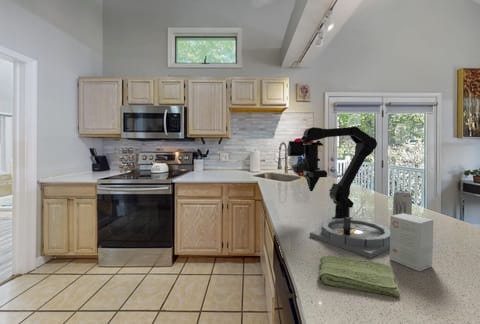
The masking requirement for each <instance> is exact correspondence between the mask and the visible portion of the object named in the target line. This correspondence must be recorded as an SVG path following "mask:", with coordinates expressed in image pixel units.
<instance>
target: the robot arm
mask: <svg viewBox="0 0 480 324" xmlns="http://www.w3.org/2000/svg"><path fill="white" fill-rule="evenodd" d="M346 136H348V137H350V138H351V140H352V142H353V143H355V147H354V154H353V157H352V158H351V160H350V162H349V164H348V166H347V168H346V170H345V171H344V173H343V174H342V177H341V179H340V181H338V183H335V182H333V183H332V185H331V188H330V189H329V191H328V192H329V193H328V194H329V198H330V199H331V200H332V202H333V204H334V205H335V208H334V209H335V210H334V216H332V217H331V219H341V218H344V217H349V218H351V219H354V218H353V217H351V215H350V214H351V211H350V210H351V209H352V208H353V206H354V202H353V201H352V200H351V199H350V198H349V197H350V194H351V186H352V184H353V183H354V180H355V178H356V176H357V174H358V172H359V171H360V169H361V168H362V165H363V164H364V162H365V159H366V158H367V157H369V156H370V155H371V154H373V152H374V150H375V149H376V148H377V146H378V141H377V140H376V139H375V137H373V136H371V135H369V134H368V133H366V132H364V131H363V130H361V129H360V127H358V126H356V125H355V126H354V125H353V126H349V127H337V128H322V127H315V126H314V127H308V128H306V129H305V130H304V131H303V136H302V137H301V138H300V140H298V141H293V140H289V141H288V144H287V148H286V150H287V151H286V152H287V156H288V157H302V156H303V155H304V158H302V161H301V162H298V163H296V164H292V165H291V168H292V171H293V173H294V174H302V175H301V176H302V177H304V179H305V181H306V183H307V186H308V189H309V191H310V192H313V191H314V189H315V187H316V185H317V183H318V182H319V180H320V178H327V177H328V171H327V170H325V169H321V168H320V167H319V162H320V161H321V159H320V157H319V147H320V146H321V147H323V146H324V143H322V142H321V141H320V140H321V139H325V138H334V137H346Z"/></svg>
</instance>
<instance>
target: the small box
mask: <svg viewBox="0 0 480 324" xmlns="http://www.w3.org/2000/svg"><path fill="white" fill-rule="evenodd" d="M389 221H390V225H389V226H390V227H389V229H390V248H389V261H393V262H395V263H398V264H400V265H402V266H405V267H408V268H409V269H412V270H414V271H417V272H423V271H424V270H426V269H428V268H432V266H433V253H434V252H433V251H434V246H433V245H434V220H433V219H430V218H426V217H421V216H417V215H413V214H412V215H409V214H404V213H402V214H397V215H393V214H391V215H390V220H389Z"/></svg>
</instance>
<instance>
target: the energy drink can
mask: <svg viewBox="0 0 480 324" xmlns="http://www.w3.org/2000/svg"><path fill="white" fill-rule="evenodd" d="M392 198H393V199H392V200H393V202H392V215H397V214H402V213H404V214H409V215H413V214H412V211H413V208H412V207H413V196H412V194H411V191H406V190H395V192H394V194H393V197H392Z"/></svg>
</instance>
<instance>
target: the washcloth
mask: <svg viewBox="0 0 480 324" xmlns="http://www.w3.org/2000/svg"><path fill="white" fill-rule="evenodd" d="M319 260H320V261H319V262H320V263H319V267H320V269H319V272H318V276H317V280H318V281H319V282H320V283H321V284H322V285H327V286H333V287H337V288H342V289H343V288H344V289H347V290H355V291H362V292H367V293H368V292H369V293H375V294H381V293H383V294H382V295H386V296H391V297H401V292H400V289H399V283H398V280H397V277H396V276H395V274H394V273H393V267H392V266H390V265H388V264H385V263H381V262H377V261H375V260H367V259H365V260H364V259H359V258H347V257H342V256H338V255H337V256H336V255H330V254H328V255H322V256H321V257H320V258H319Z"/></svg>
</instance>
